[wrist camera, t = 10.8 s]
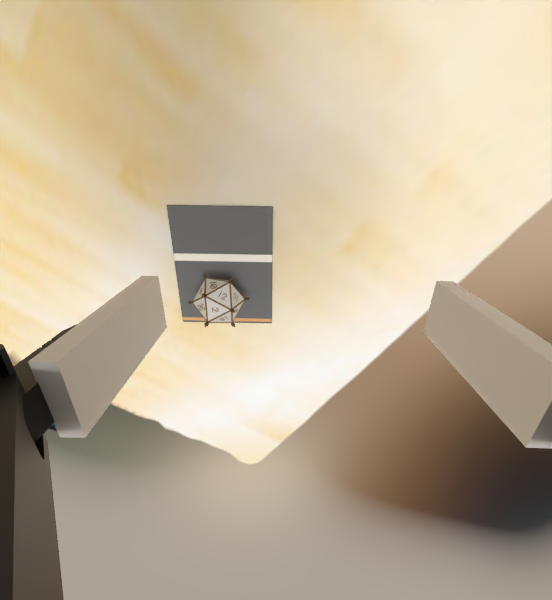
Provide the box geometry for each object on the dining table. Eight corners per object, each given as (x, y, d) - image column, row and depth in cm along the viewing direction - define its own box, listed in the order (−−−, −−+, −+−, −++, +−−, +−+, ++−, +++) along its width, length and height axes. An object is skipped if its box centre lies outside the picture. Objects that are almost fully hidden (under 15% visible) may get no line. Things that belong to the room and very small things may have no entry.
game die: (226, 293, 53) (202, 340, 48) (197, 261, 47) (166, 311, 42) (265, 291, 48) (243, 343, 43) (237, 255, 42) (208, 310, 37)
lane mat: (167, 205, 43) (166, 205, 43) (272, 206, 43) (272, 207, 43) (183, 320, 51) (182, 321, 51) (271, 322, 51) (271, 323, 51)
